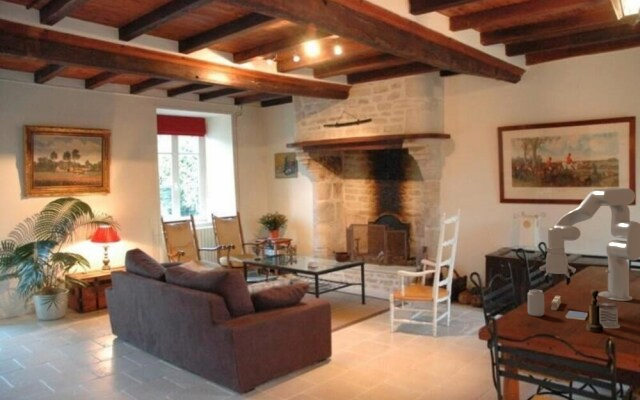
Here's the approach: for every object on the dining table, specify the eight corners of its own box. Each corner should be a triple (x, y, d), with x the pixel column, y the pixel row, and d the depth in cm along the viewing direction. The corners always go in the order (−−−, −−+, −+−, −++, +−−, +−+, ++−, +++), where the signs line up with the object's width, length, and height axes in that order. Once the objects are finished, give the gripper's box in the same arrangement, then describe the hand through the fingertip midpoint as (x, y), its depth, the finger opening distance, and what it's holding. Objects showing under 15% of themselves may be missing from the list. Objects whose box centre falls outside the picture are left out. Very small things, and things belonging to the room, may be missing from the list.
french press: (620, 329, 221) (620, 272, 220) (590, 326, 227) (590, 270, 226) (620, 323, 229) (620, 269, 228) (591, 320, 236) (591, 267, 234)
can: (545, 317, 243) (545, 292, 242) (529, 316, 244) (529, 292, 244) (542, 312, 250) (542, 288, 250) (526, 312, 252) (526, 288, 251)
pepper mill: (582, 328, 224) (582, 288, 223) (596, 327, 225) (596, 287, 224) (592, 332, 218) (592, 291, 217) (606, 332, 218) (606, 290, 217)
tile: (569, 310, 249) (565, 315, 241) (587, 312, 244) (584, 317, 236) (569, 314, 249) (565, 319, 241) (587, 316, 244) (584, 321, 236)
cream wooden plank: (555, 302, 270) (555, 295, 270) (560, 303, 269) (560, 295, 268) (551, 309, 256) (551, 302, 256) (556, 310, 255) (556, 302, 255)
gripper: (537, 251, 264) (538, 284, 265) (573, 253, 254) (574, 286, 255) (540, 249, 270) (541, 281, 271) (576, 250, 260) (577, 283, 261)
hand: (557, 283), depth 263 cm, fingers open, 9 cm apart
